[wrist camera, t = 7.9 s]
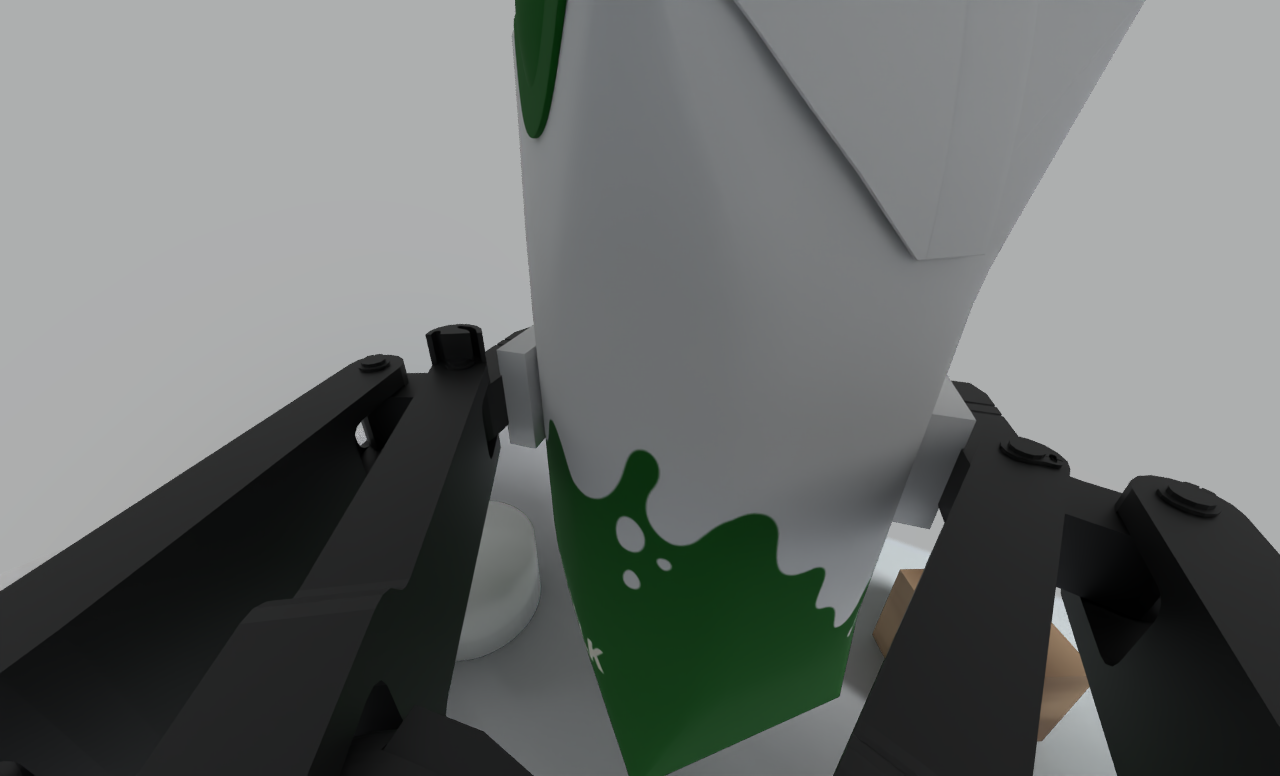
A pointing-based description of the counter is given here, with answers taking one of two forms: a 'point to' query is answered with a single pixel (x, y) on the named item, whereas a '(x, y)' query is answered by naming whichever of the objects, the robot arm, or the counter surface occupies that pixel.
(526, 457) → the counter surface
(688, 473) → the soya milk
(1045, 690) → the walnut block
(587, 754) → the counter surface
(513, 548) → the white cylinder puck
